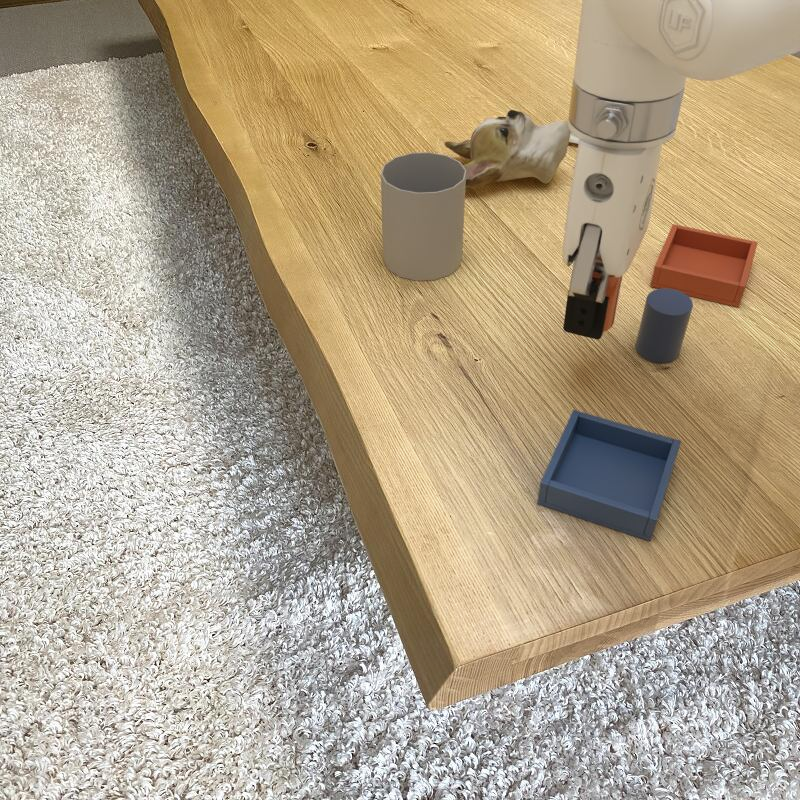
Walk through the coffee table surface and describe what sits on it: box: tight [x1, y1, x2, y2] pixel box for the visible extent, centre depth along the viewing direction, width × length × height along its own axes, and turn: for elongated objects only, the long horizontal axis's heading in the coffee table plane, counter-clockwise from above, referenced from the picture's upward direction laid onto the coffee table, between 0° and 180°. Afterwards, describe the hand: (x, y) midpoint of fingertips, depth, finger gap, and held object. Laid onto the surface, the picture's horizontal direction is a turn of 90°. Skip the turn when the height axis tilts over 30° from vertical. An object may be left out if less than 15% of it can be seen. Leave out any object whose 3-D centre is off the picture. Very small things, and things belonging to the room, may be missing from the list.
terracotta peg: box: [572, 256, 624, 333], centre depth 69 cm, size 4×4×6 cm
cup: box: [380, 151, 467, 282], centre depth 86 cm, size 8×8×10 cm
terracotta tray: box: [649, 223, 759, 308], centre depth 85 cm, size 9×9×2 cm
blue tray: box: [536, 409, 682, 542], centre depth 65 cm, size 9×9×2 cm
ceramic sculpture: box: [443, 109, 571, 189], centre depth 99 cm, size 11×9×15 cm
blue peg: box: [634, 288, 694, 364], centre depth 76 cm, size 4×4×6 cm
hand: (590, 316), depth 71 cm, fingers closed on terracotta peg, 4 cm apart
